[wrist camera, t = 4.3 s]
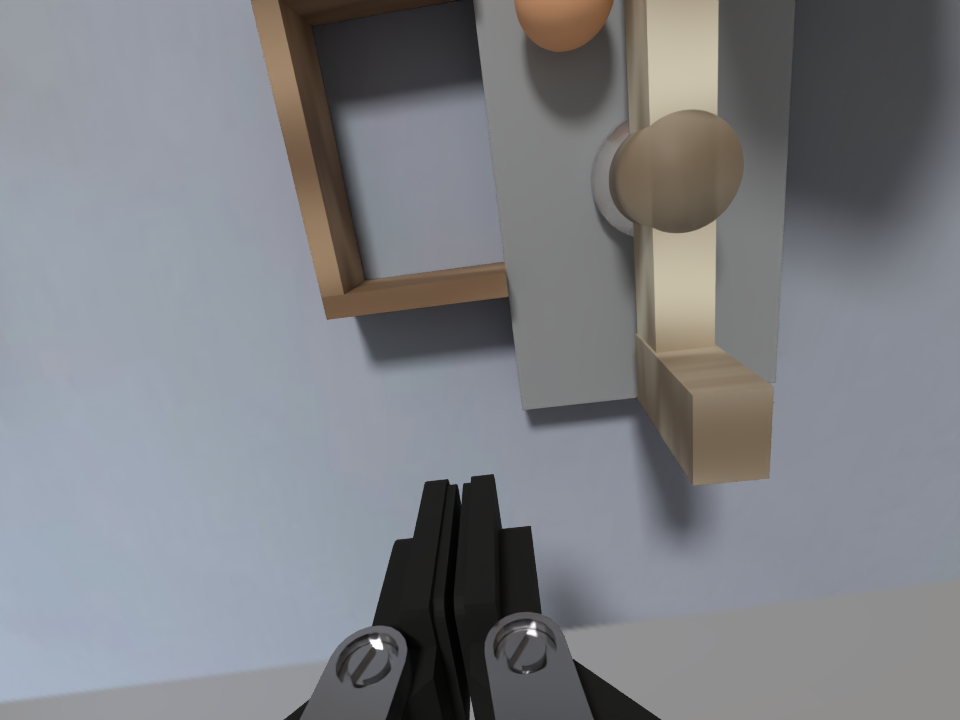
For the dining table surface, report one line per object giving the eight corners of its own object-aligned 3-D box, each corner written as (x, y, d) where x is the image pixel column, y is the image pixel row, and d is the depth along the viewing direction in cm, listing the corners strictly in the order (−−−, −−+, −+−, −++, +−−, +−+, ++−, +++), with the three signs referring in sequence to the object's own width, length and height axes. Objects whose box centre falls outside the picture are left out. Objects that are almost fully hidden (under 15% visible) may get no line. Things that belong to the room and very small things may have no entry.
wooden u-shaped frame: (507, 282, 25) (508, 296, 22) (349, 302, 25) (326, 319, 22) (469, -31, 21) (464, -73, 17) (282, 2, 21) (243, -32, 18)
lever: (709, 392, 23) (794, 476, 16) (620, 402, 23) (668, 488, 17) (713, -97, 17) (847, -275, 11) (594, -75, 18) (652, -235, 11)
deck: (755, 368, 26) (775, 382, 24) (520, 394, 27) (522, 410, 25) (773, -117, 19) (803, -150, 18) (466, -60, 20) (462, -86, 19)
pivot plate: (711, 228, 22) (719, 230, 21) (594, 244, 22) (597, 246, 21) (712, 101, 20) (721, 97, 19) (586, 120, 21) (590, 117, 20)
